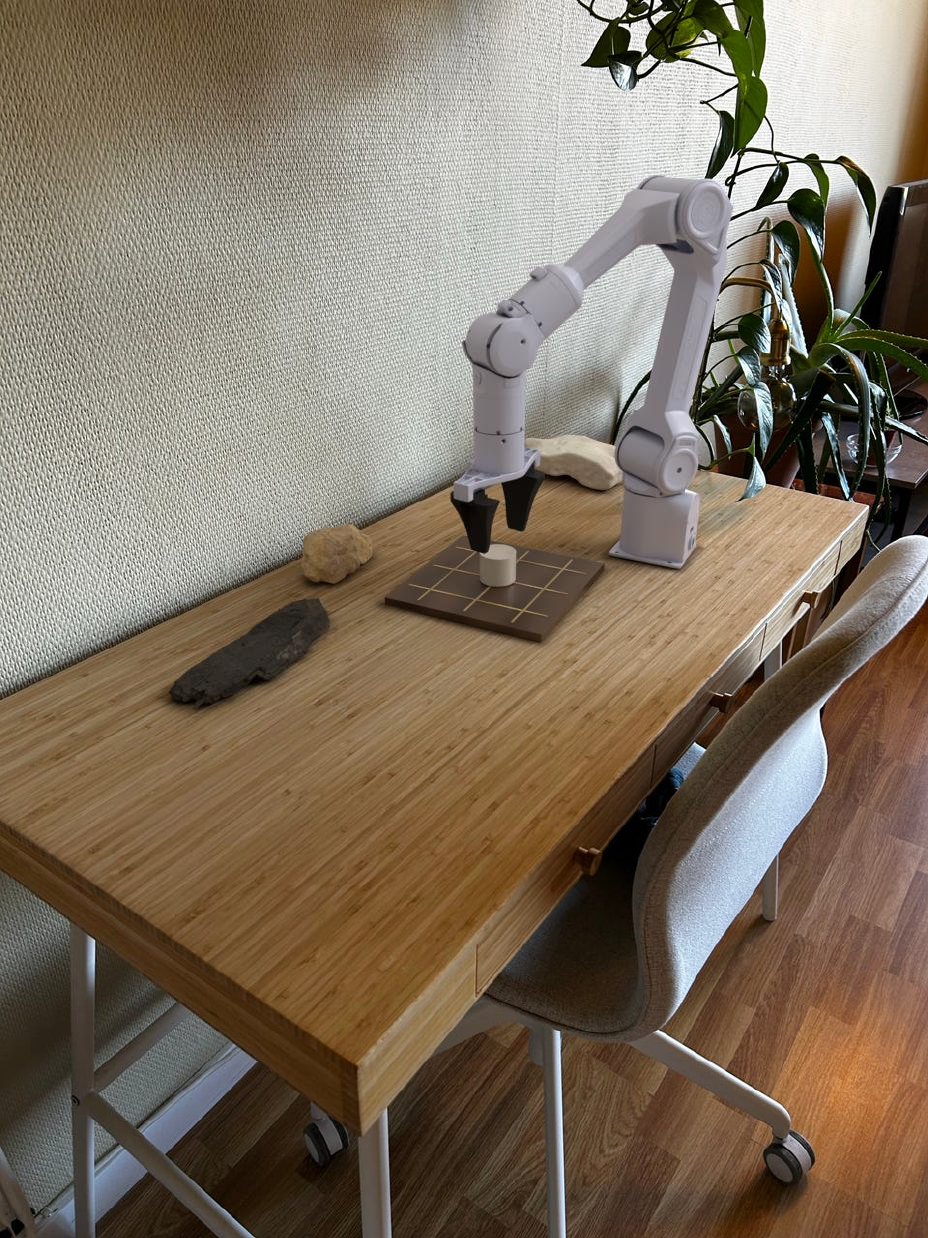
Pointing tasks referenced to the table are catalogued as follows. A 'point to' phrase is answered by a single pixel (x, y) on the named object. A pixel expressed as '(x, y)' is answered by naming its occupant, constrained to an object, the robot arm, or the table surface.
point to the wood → (254, 654)
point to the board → (498, 590)
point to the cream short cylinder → (498, 566)
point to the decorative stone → (578, 460)
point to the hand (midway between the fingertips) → (498, 539)
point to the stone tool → (334, 553)
